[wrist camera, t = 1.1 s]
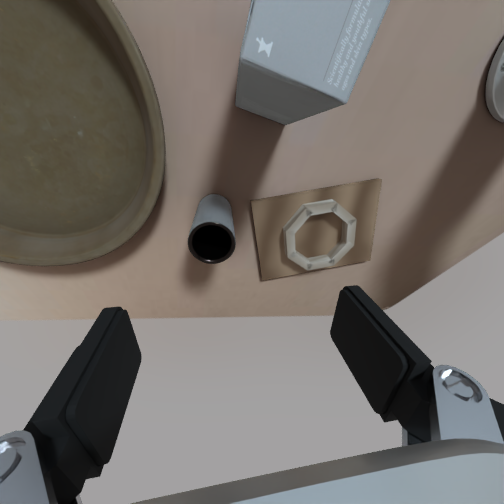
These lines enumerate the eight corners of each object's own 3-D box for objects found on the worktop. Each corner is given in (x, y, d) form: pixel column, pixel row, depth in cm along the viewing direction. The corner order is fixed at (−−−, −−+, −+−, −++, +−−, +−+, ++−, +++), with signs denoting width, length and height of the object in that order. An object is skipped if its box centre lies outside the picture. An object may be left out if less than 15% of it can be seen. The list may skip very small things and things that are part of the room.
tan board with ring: (378, 178, 31) (389, 181, 29) (367, 257, 37) (376, 265, 35) (250, 200, 30) (252, 205, 28) (261, 277, 37) (264, 286, 34)
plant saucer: (185, 248, 33) (180, 265, 29) (-60, 253, 29) (-105, 273, 25) (145, -92, 18) (123, -155, 14) (-365, -173, 14) (-595, -291, 10)
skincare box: (285, 126, 26) (355, 121, 13) (226, 103, 25) (233, 69, 11) (315, 35, 23) (459, -109, 9) (249, 1, 21) (302, -244, 7)
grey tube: (196, 193, 29) (184, 222, 20) (231, 193, 29) (235, 221, 20) (199, 226, 31) (190, 265, 22) (231, 225, 32) (235, 263, 23)
